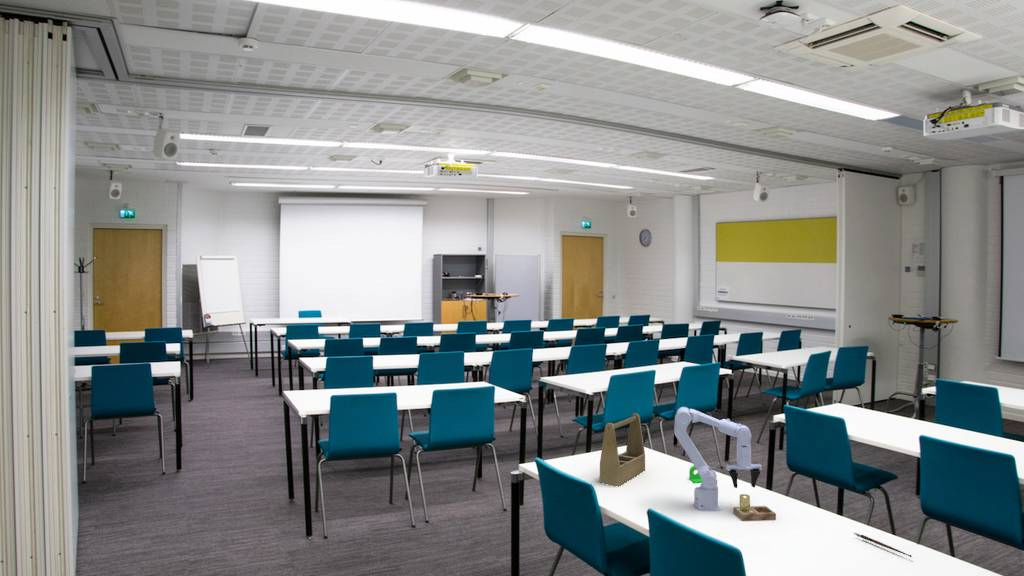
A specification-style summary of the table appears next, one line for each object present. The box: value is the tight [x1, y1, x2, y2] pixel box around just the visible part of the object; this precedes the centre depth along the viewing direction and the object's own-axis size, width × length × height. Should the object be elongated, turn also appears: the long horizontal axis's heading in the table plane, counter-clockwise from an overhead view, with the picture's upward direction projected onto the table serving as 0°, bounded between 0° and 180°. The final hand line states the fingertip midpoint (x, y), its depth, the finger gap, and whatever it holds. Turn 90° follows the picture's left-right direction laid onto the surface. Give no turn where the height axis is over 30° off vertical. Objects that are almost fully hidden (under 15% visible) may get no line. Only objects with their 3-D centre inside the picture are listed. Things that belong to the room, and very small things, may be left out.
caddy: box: [599, 413, 646, 488], centre depth 325 cm, size 29×11×30 cm, turn 144°
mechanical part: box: [688, 465, 702, 484], centre depth 318 cm, size 12×6×8 cm, turn 94°
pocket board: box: [732, 505, 777, 522], centre depth 273 cm, size 14×9×3 cm, turn 94°
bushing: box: [739, 493, 751, 512], centre depth 273 cm, size 4×4×6 cm
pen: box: [853, 532, 913, 558], centre depth 243 cm, size 1×1×23 cm
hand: (744, 486), depth 280 cm, fingers open, 7 cm apart
